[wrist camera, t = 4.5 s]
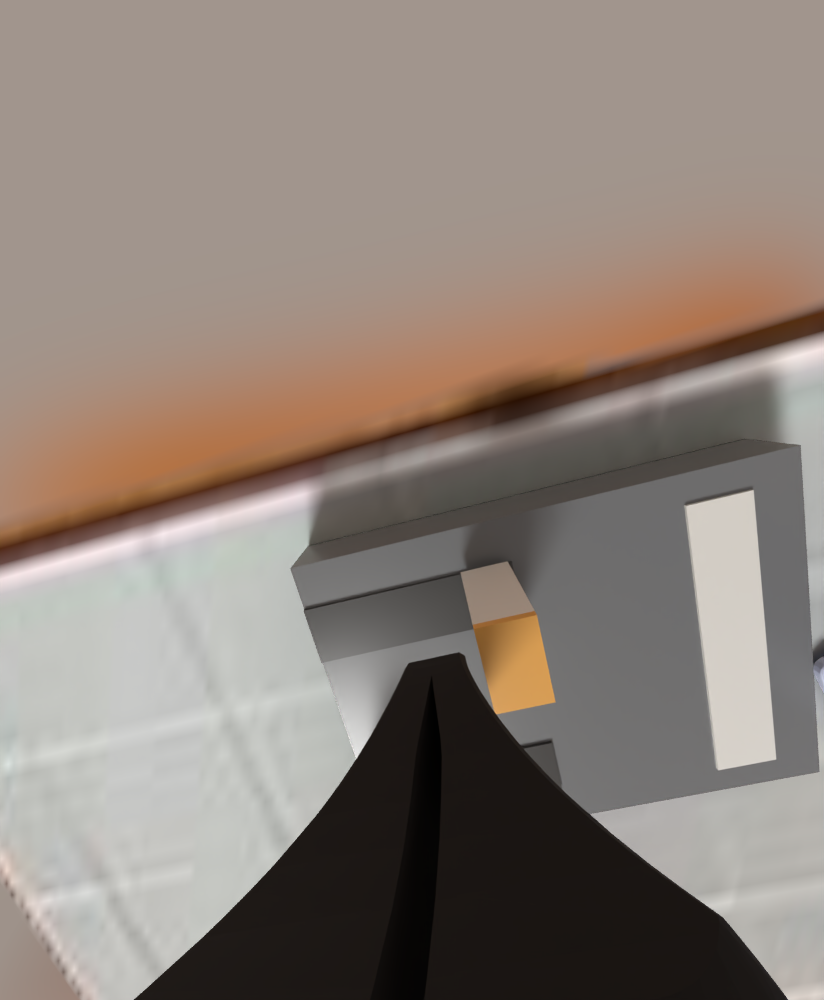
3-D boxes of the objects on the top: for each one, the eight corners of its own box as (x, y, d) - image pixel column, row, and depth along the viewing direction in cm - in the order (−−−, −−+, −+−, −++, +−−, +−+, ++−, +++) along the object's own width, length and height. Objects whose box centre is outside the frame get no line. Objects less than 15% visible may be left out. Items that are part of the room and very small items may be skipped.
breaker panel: (744, 438, 15) (803, 445, 12) (769, 725, 17) (822, 774, 15) (307, 546, 16) (289, 569, 14) (391, 798, 18) (387, 853, 16)
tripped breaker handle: (507, 561, 13) (537, 614, 10) (522, 629, 14) (555, 702, 10) (460, 572, 13) (473, 629, 10) (477, 639, 14) (495, 714, 10)
